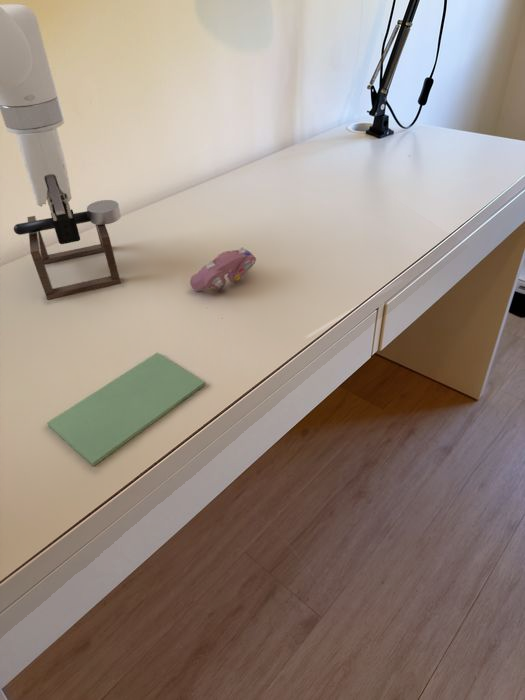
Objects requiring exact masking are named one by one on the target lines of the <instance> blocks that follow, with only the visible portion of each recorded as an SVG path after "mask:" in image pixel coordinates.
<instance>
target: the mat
mask: <svg viewBox="0 0 525 700" xmlns="http://www.w3.org/2000/svg"><path fill="white" fill-rule="evenodd" d="M205 385H206V382H205V381H204V380H202V379H201V378H199V377H197V376H196V375H195V374H192V373H191V372H189V371H188V370H186V369H184V368H183V367H181V366H180V365H178V364H177V363H175V362H173V361H172V360H170V359H169V358H167V357H166V356H164V355H163V354H161V353H159V352H155V353H154V354H153V355H150V356H149V357H147V358H146V359H145V360H143V361H141V362H140V363H139V364H137V365H135V366H133V367H132V368H131V369H129V370H127V371H125V372H124V373H123V374H120V375H119V376H118V377H116V378H115V379H113V380H112V381H110V382H109V383H107V384H105V385H104V386H102V387H101V388H99V389H97V390H95V392H93V393H91V394H89V395H88V396H87V397H85V398H84V399H82V400H80V401H79V402H77V403H75V404H74V405H72V406H71V407H69V408H68V409H65V410H64V411H63V412H61V413H60V414H58V415H57V416H55V417H53V418H51V419H50V420H49V421H47V422H46V424H47V426H48V427H49V428H50V429H51V430H52V431H53V432H54V433H55V434H57V436H59V437H60V438H61V439H62V440H63V441H65V442H66V444H68V445H69V446H70V447H71V448H72V449H73V450H74V451H76V453H78V454H79V455H80V456H81V457H82V458H83V459H84V460H85V461H87V462H88V463H89V464H90V465H91V466H92V467H95V466H96V465H97V464H99V463H100V462H101V461H103V460H105V458H107V457H109V456H110V455H112V453H114V452H116V450H118V449H120V448H121V447H122V446H123V445H125V444H126V443H128V442H129V441H131V440H132V439H134V437H136V436H138V435H139V434H140V433H142V432H143V431H144V430H146V429H147V428H148V427H149V426H151V425H153V424H154V423H155V422H156V421H158V420H159V419H161V418H162V417H164V416H165V415H166V414H167V413H169V412H170V411H172V410H173V409H174V408H176V407H177V406H178V405H180V404H181V403H182V402H184V401H186V399H188V398H190V397H191V396H192V395H193V394H195V393H196V392H198V391H199V390H200V389H202V388H203V387H205Z"/></svg>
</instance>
